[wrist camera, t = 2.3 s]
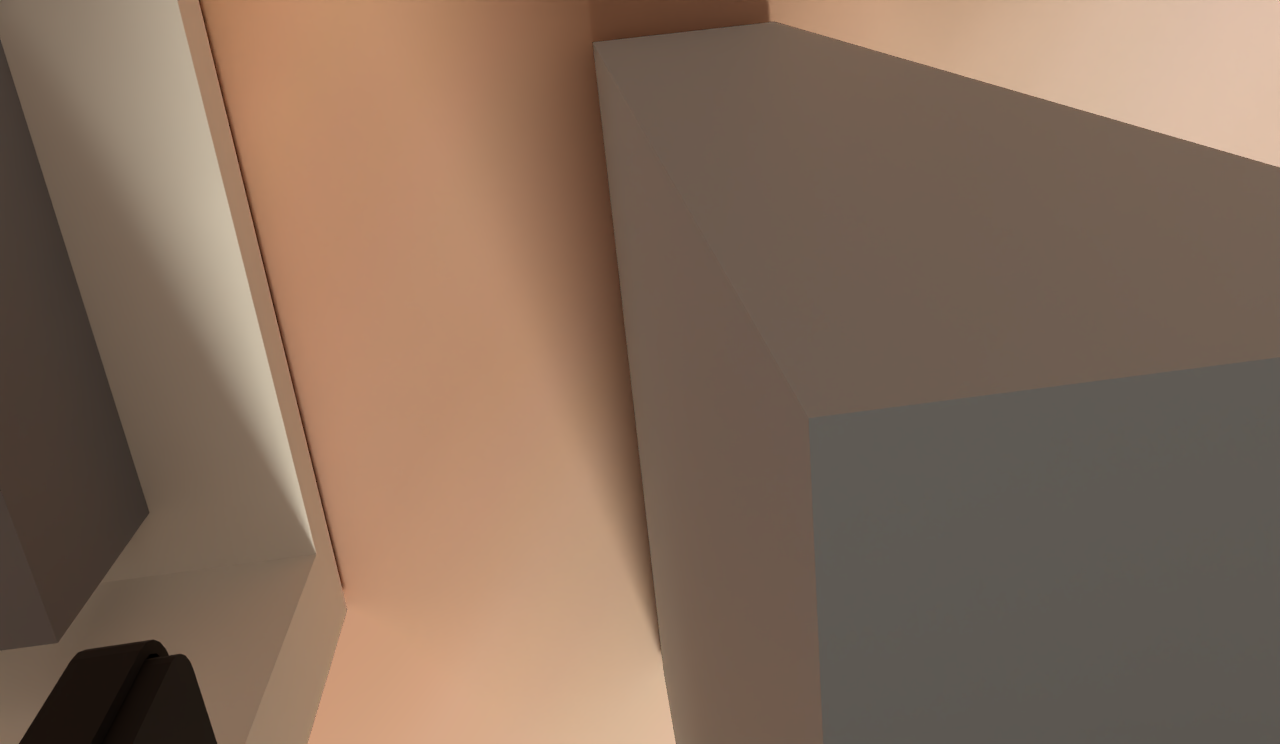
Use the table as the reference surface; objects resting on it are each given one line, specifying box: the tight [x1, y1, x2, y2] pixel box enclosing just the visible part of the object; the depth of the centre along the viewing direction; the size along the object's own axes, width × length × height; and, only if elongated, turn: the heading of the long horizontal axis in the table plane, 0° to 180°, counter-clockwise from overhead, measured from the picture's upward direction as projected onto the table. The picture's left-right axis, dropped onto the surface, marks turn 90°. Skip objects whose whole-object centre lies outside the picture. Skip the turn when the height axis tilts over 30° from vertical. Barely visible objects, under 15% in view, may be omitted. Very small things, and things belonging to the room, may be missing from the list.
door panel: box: [593, 22, 1280, 744], centre depth 10 cm, size 4×10×12 cm, turn 6°
